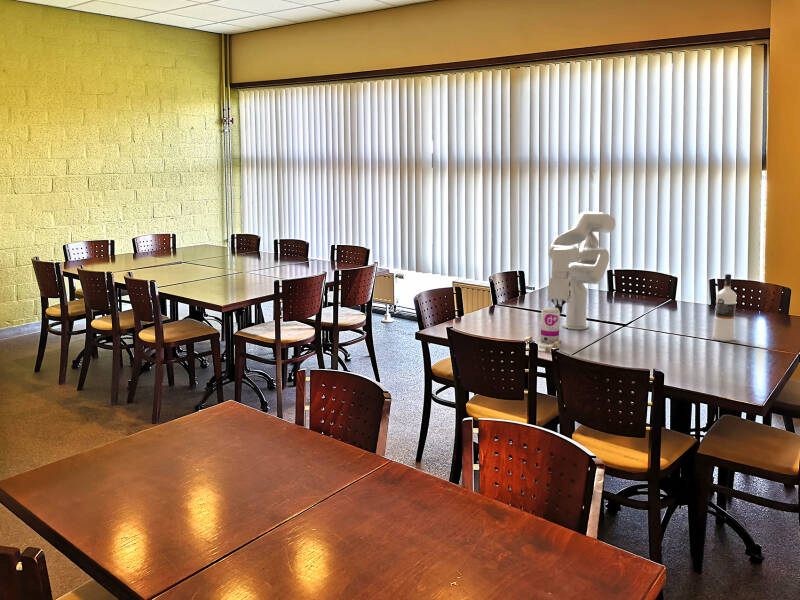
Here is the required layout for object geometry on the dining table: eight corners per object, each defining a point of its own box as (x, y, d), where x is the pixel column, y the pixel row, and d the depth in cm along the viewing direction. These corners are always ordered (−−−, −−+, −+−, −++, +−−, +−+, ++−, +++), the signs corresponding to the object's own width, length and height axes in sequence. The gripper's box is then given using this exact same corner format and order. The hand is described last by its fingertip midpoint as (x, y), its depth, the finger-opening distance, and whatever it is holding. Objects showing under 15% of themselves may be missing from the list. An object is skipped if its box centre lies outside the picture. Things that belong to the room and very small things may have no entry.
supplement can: (559, 343, 328) (560, 310, 325) (540, 342, 330) (541, 310, 327) (558, 339, 336) (560, 307, 333) (540, 338, 338) (541, 306, 335)
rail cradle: (528, 341, 333) (528, 335, 332) (561, 345, 324) (561, 340, 324) (515, 347, 321) (515, 342, 321) (548, 352, 313) (548, 347, 312)
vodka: (738, 340, 331) (744, 275, 325) (723, 342, 327) (728, 276, 321) (722, 335, 339) (727, 272, 333) (707, 338, 336) (712, 273, 330)
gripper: (578, 275, 334) (576, 314, 337) (547, 272, 342) (546, 310, 345) (572, 277, 328) (570, 317, 331) (541, 274, 336) (540, 313, 339)
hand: (558, 313), depth 338 cm, fingers closed
